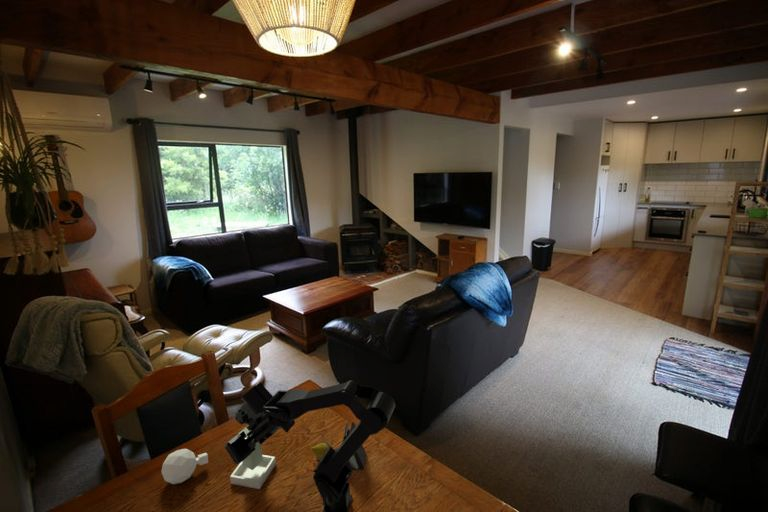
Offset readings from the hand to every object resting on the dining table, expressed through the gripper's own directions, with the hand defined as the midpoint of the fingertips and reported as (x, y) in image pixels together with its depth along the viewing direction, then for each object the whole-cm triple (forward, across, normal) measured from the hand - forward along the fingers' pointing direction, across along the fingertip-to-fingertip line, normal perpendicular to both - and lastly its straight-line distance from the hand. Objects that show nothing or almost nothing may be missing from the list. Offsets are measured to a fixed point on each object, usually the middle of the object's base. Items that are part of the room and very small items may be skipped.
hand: (247, 442), depth 107 cm
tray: (+6, 0, +8) cm, 11 cm away
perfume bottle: (+18, +10, -3) cm, 21 cm away
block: (+4, 0, +6) cm, 7 cm away
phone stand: (-9, -17, +25) cm, 32 cm away
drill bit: (-4, -14, +19) cm, 24 cm away
